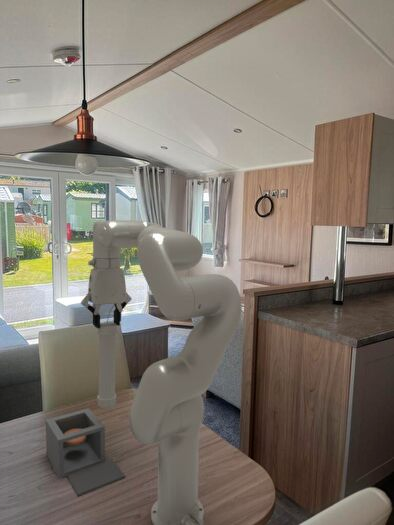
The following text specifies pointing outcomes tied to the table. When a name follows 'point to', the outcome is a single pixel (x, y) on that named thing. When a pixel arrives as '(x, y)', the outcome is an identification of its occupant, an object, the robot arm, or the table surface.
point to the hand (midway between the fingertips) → (107, 325)
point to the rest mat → (95, 477)
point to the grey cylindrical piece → (107, 364)
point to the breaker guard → (69, 456)
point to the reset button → (75, 441)
